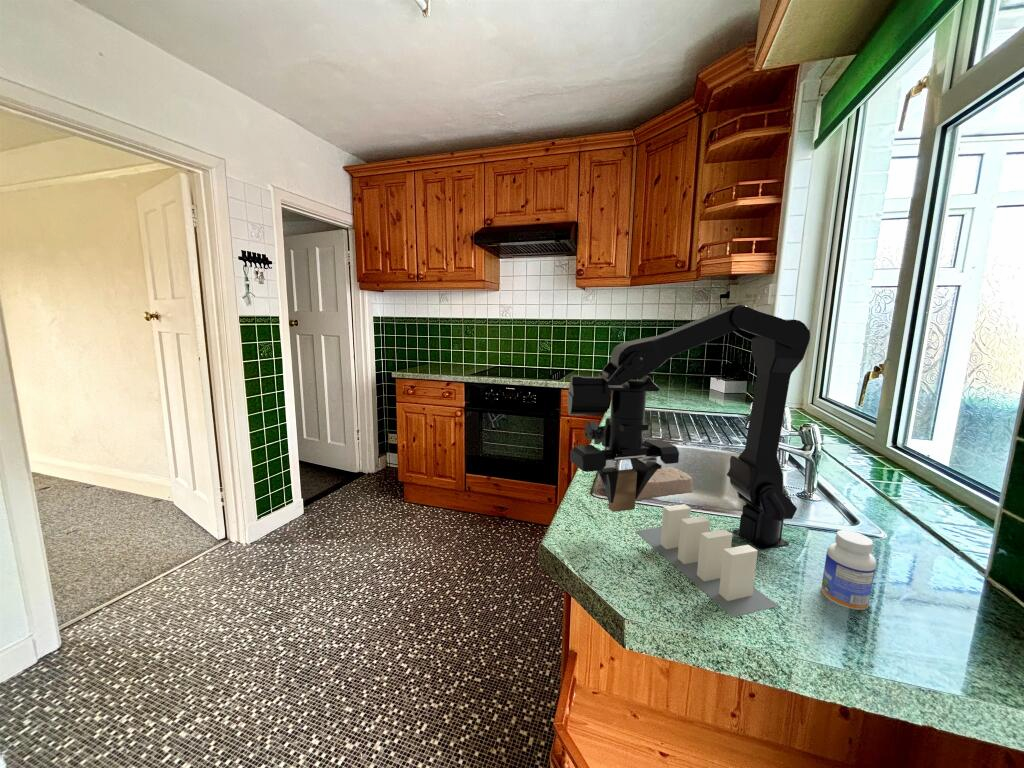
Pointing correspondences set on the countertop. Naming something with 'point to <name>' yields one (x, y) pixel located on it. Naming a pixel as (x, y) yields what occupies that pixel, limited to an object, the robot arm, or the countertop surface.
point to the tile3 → (691, 538)
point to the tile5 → (738, 572)
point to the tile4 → (712, 553)
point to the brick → (667, 484)
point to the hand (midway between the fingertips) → (622, 500)
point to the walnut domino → (624, 491)
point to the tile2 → (673, 524)
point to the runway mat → (708, 587)
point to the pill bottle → (849, 570)
